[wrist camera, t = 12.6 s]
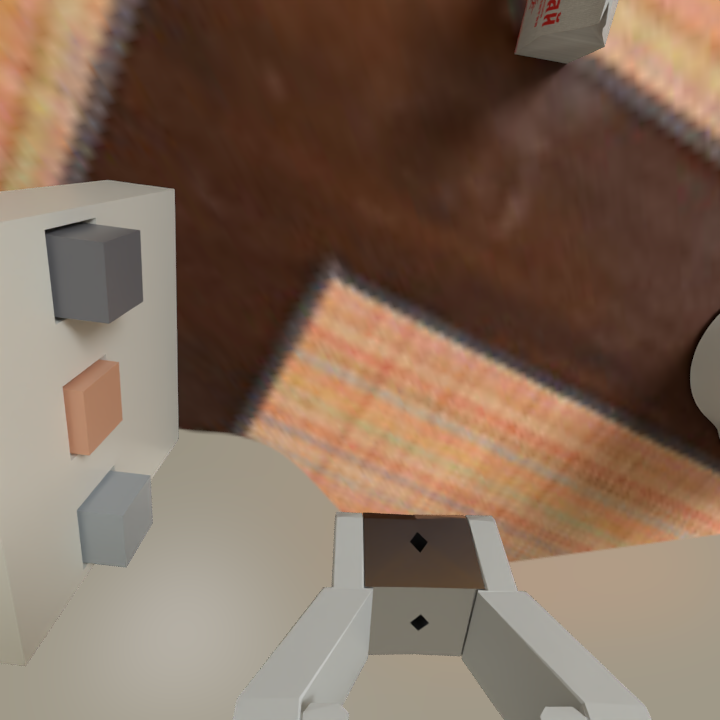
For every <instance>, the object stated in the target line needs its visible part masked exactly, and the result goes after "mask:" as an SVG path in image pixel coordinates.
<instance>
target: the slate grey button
mask: <svg viewBox="0 0 720 720" xmlns="http://www.w3.org/2000/svg"><path fill="white" fill-rule="evenodd" d="M77 517H78V526H79V535H80V544H81V552H82V561H83V563H91V564H101V565H109V566H118V567H127V566H128V564H129V562H130V561H131V559H132V557H133V556H134V554H135V552H136V550H137V549H138V547H139V545H140V544H141V542H142V540H143V539H144V537H145V535H146V533H147V532H148V530H149V528H150V527H151V525H152V523H153V522H152V521H153V520H152V496H151V475H143V474H134V473H126V472H117V471H109V472H108V473H107V474H106V475H105V477H104V478H103V479H102V480H101V482H100V483H99V484H98V485H97V486H96V488H95V489H94V490H93V491H92V492H91V494H90V495H89V496H88V497H87V499H86V500H85V501H84V502H83V503H82V505H81V506H80V507H79V508H78V509H77Z"/></svg>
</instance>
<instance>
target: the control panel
mask: <svg viewBox="0 0 720 720" xmlns="http://www.w3.org/2000/svg"><path fill="white" fill-rule="evenodd" d="M76 222H82V223H90V224H97V225H105V226H112V227H120V228H128V229H135V230H140V235H141V259H142V283H143V302H142V303H140V304H139V305H137V306H136V307H134V308H132V309H131V310H129V311H128V312H126V313H125V314H123V315H122V316H120V317H119V318H117V319H116V320H114V321H113V322H111V323H110V324H107V323H99V322H91V321H84V320H76V319H68V318H60V317H54V308H53V299H52V291H51V282H50V273H49V265H48V256H47V247H46V238H45V230H46V229H51V228H55V227H59V226H63V225H67V224H71V223H76ZM97 360H107V361H115V362H119V372H120V387H121V402H122V418H123V420H122V421H121V422H120V423H119V424H118V425H117V427H116V428H115V429H114V430H113V431H112V432H111V433H110V434H109V435H108V436H107V437H106V438H105V439H104V441H103V442H102V443H101V444H100V445H99V446H98V447H97V448H96V449H95V450H94V451H93V452H92V453H91V455H90V456H89V455H80V454H72V453H70V448H69V439H68V430H67V421H66V413H65V404H64V395H63V386H64V385H66V384H67V383H68V382H70V381H71V380H72V379H74V378H75V377H76V376H77V375H79V374H80V373H81V372H83V371H84V370H85V369H87V368H88V367H89V366H91V365H92V364H93V363H95V362H96V361H97ZM178 439H179V435H178V370H177V306H176V242H175V189H170V188H163V187H156V186H148V185H141V184H133V183H126V182H118V181H111V180H104V181H95V182H85V183H76V184H67V185H57V186H48V187H39V188H30V189H20V190H11V191H2V192H0V663H1V664H11V665H19V666H26V665H27V663H28V662H29V660H30V659H31V657H32V656H33V654H34V653H35V652H36V650H37V649H38V647H39V646H40V644H41V643H42V641H43V640H44V638H45V637H46V635H47V634H48V632H49V631H50V629H51V628H52V626H53V625H54V623H55V622H56V620H57V619H58V617H59V616H60V615H61V613H62V611H63V610H64V609H65V607H66V606H67V604H68V603H69V601H70V600H71V598H72V597H73V595H74V594H75V592H76V591H77V589H78V588H79V586H80V585H81V583H82V582H83V580H84V579H85V577H86V576H87V574H88V573H89V571H90V570H91V568H92V567H93V565H94V564H91V563H83V561H82V552H81V544H80V535H79V526H78V517H77V509H78V508H79V507H80V506H81V505H82V503H83V502H84V501H85V500H86V499H87V497H88V496H89V495H90V494H91V492H92V491H93V490H94V489H95V488H96V486H97V485H98V484H99V483H100V482H101V480H102V479H103V478H104V477H105V475H106V474H107V473H108V472H109V471H117V472H126V473H134V474H143V475H151V479H152V478H153V476H154V475H155V473H156V472H157V470H158V469H159V467H160V466H161V464H162V463H163V461H164V460H165V459H166V457H167V456H168V454H169V453H170V451H171V449H172V448H173V447H174V445H175V444H176V442H177V441H178Z"/></svg>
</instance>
